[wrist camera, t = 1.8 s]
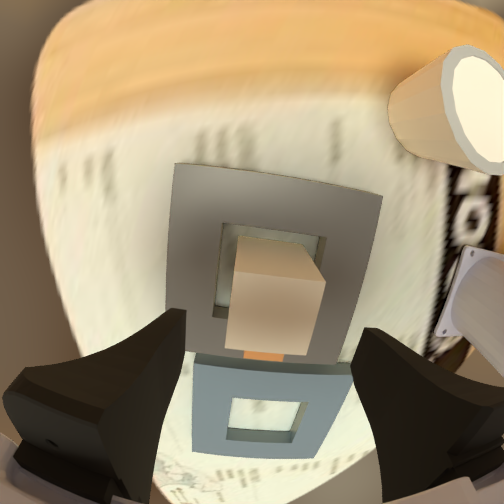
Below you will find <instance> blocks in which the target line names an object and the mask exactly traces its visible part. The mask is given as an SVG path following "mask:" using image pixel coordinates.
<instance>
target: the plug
mask: <svg viewBox="0 0 504 504" xmlns="http://www.w3.org/2000/svg"><path fill="white" fill-rule="evenodd" d="M325 284H326V281H325V280H324V278H323V276H322V275H321V273H320V272H319V270H318V268H317V267H316V265H315V264H314V262H313V260H312V259H311V257H310V256H309V254H308V252H307V251H306V249H305V248H304V246H303V245H302V244H297V243H289V242H282V241H275V240H268V239H260V238H253V237H245V236H238V244H237V251H236V259H235V267H234V274H233V282H232V290H231V298H230V306H229V315H228V323H227V332H226V341H225V348H228V349H236V350H244V357H243V358H246V359H256V360H268V361H280V362H282V361H283V357H284V354H290V355H306V354H307V351H308V347H309V344H310V340H311V337H312V333H313V330H314V326H315V323H316V319H317V315H318V312H319V308H320V304H321V300H322V296H323V292H324V289H325Z"/></svg>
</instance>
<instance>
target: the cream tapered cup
mask: <svg viewBox="0 0 504 504" xmlns="http://www.w3.org/2000/svg"><path fill="white" fill-rule="evenodd" d="M387 108H388V115H389V123H390V126H391V128H392V130H393V132H394V134H395V137H396V139H397V140H398V141H399V142H400V143H401V144H402V146H403V147H404V148H405V149H406V150H407V151H408V152H410V153H412V154H414V155H416V156H418V157H420V158H425V159H430V160H434V161H439V162H443V163H447V164H451V165H455V166H459V167H463V168H466V169H470V170H474V171H477V172H481V173H484V174H487V175H503V174H504V70H503V69H502V67H501V66H500V65H499V64H498V63H497V62H496V61H495V60H494V59H493V58H492V57H491V56H490V55H488V54H487V53H486V52H485V51H483V50H481V49H478V48H476V47H473V46H470V45H463V46H459V47H454V48H452V49H450V50H449V51H447V52H446V53H444V54H443V55H441V56H439V57H438V58H436V59H435V60H433V61H432V62H430V63H429V64H427V65H426V66H424V67H423V68H421V69H420V70H418V71H417V72H415V73H414V74H412V75H411V76H409V77H408V78H406V79H405V80H403V81H402V82H401V83H399V84H398V85H397V86H396V88H395V89H394V90H393V91H392V93H391V94H390V99H389V103H388V107H387Z"/></svg>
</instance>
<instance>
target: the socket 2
mask: <svg viewBox="0 0 504 504" xmlns="http://www.w3.org/2000/svg"><path fill="white" fill-rule="evenodd" d="M350 365H351V363H336V365H328V364H304V363H287V362H273V361H262V360H251V359H242V358H233V357H225V356H217V355H210V354H203V353H196V356H195V360H194V369H193V403H192V452H199V453H206V454H214V455H223V456H233V457H246V458H266V459H307V458H314V457H315V455H316V453H317V452H318V450H319V448H320V446H321V445H322V443H323V441H324V439H325V437H326V435H327V434H328V432H329V430H330V428H331V426H332V424H333V422H334V420H335V418H336V416H337V414H338V412H339V410H340V408H341V406H342V404H343V402H344V400H345V398H346V396H347V394H348V392H349V389H350V387H351V385H352V383H353V377H352V373H351V368H350ZM232 397H234V398H244V399H255V400H269V401H290V402H301V405H300V407H299V410H298V413H297V415H296V418H295V420H294V423H293V425H292V428H291V430H290V432H288V431H261V430H246V429H234V428H228V421H229V415H230V408H231V402H232Z"/></svg>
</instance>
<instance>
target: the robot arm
mask: <svg viewBox="0 0 504 504" xmlns="http://www.w3.org/2000/svg"><path fill="white" fill-rule="evenodd" d="M471 251H472V253H471ZM470 253H471V254H470ZM186 313H187V310H184V309H177V308H170V309H169V310H167V311H166V312H164V313H163V314H162V315H160V316H159V317H158V318H156V319H155V320H154V321H152V322H151V323H150V324H148V325H147V326H145V327H144V328H143V329H141V330H140V331H138V332H136V333H135V334H133V335H132V336H130V337H128V338H127V339H125V340H123V341H121V342H119V343H117V344H115V345H113V346H111V347H109V348H107V349H105V350H102V351H99V352H97V353H94V354H91V355H88V356H85V357H82V358H79V359H76V360H72V361H68V362H63V363H58V364H52V365H45V366H35V367H25V368H24V369H23V370H22V372H21V373H20V374H19V375H18V376H17V377H16V379H15V380H14V381H13V382H12V383H11V385H10V386H9V387H8V388H7V390H6V391H5V392H4V394H3V397H2V399H3V404H4V408H5V410H6V412H7V414H8V416H9V418H10V419H11V421H12V423H13V425H14V426H15V428H16V429H17V431H18V433H19V434H20V436H21V438H22V439H23V440H22V442H21V444H20V445H19V446H18V445H17V444H16V443H15V442H13V441H12V440H11V439H9V438H8V437H6V436H5V435H3V434H2V433H0V504H149V499H150V491H151V484H152V477H153V471H154V465H155V459H156V454H157V449H158V443H159V439H160V434H161V429H162V425H163V421H164V418H165V415H166V412H167V409H168V406H169V404H170V401H171V398H172V395H173V392H174V390H175V387H176V384H177V381H178V379H179V376H180V373H181V369H182V364H183V360H184V355H185V339H186ZM443 330H444V331H443ZM434 334H435V335H436V336H438V337H444V336H464V337H465V338H466V339H467V340H468V341H469V342H470V343H471V344H472V345H473V346H474V347H475V348H476V349H477V350H478V351H479V352H480V353H481V354H482V355H483V356H484V357H485V358H486V359H487V360H488V361H489V362H490V363H491V364H492V365H493V367H495V369H496V370H497V371H498V372H499V373H500V374H501V375H502V376H503V377H504V254H501V253H497V252H493V251H489V250H485V249H481V248H477V247H473V246H469V245H466V246H465V247H464V248H463V250H462V253H461V257H460V260H459V264H458V267H457V270H456V273H455V277H454V280H453V283H452V286H451V289H450V291H449V294H448V297H447V300H446V303H445V305H444V308H443V310H442V313H441V316H440V318H439V320H438V323H437V325H436V328H435V330H434ZM350 368H351V373H352V377H353V381H354V385H355V388H356V391H357V393H358V396H359V398H360V401H361V403H362V406H363V408H364V410H365V413H366V415H367V418H368V421H369V423H370V426H371V429H372V432H373V436H374V440H375V444H376V449H377V454H378V459H379V465H380V473H381V482H382V500H383V503H382V504H504V450H503V449H502V447H501V445H503V443H504V439H503V438H502V435H503V434H504V387H497V386H492V385H488V384H483V383H480V382H476V381H473V380H470V379H467V378H465V377H462V376H459V375H457V374H454V373H452V372H450V371H448V370H446V369H444V368H442V367H440V366H438V365H436V364H434V363H432V362H431V361H429V360H427V359H426V358H424V357H422V356H421V355H419V354H417V353H416V352H414V351H413V350H411V349H410V348H408V347H407V346H405V345H404V344H402V343H401V342H399V341H398V340H396V339H395V338H393V337H392V336H390V335H389V334H387V333H385V332H384V331H382V330H380V329H378V328H365V327H364V330H363V333H362V336H361V338H360V341H359V344H358V347H357V349H356V352H355V354H354V357H353V360H352V362H351V365H350Z"/></svg>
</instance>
